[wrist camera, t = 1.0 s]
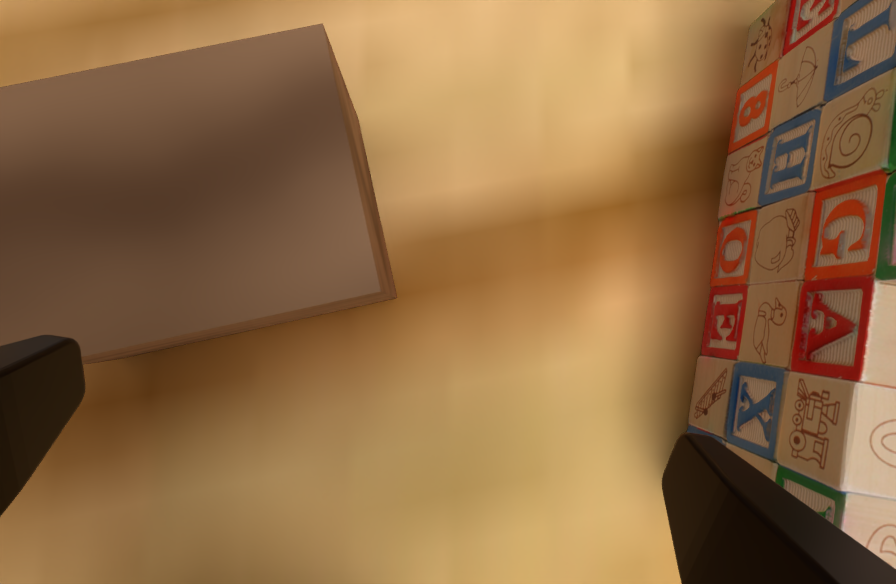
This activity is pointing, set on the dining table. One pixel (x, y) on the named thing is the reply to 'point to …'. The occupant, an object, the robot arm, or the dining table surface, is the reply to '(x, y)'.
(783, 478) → the stack of blocks
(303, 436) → the dining table surface
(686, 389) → the dining table surface
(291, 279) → the walnut block
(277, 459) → the dining table surface
